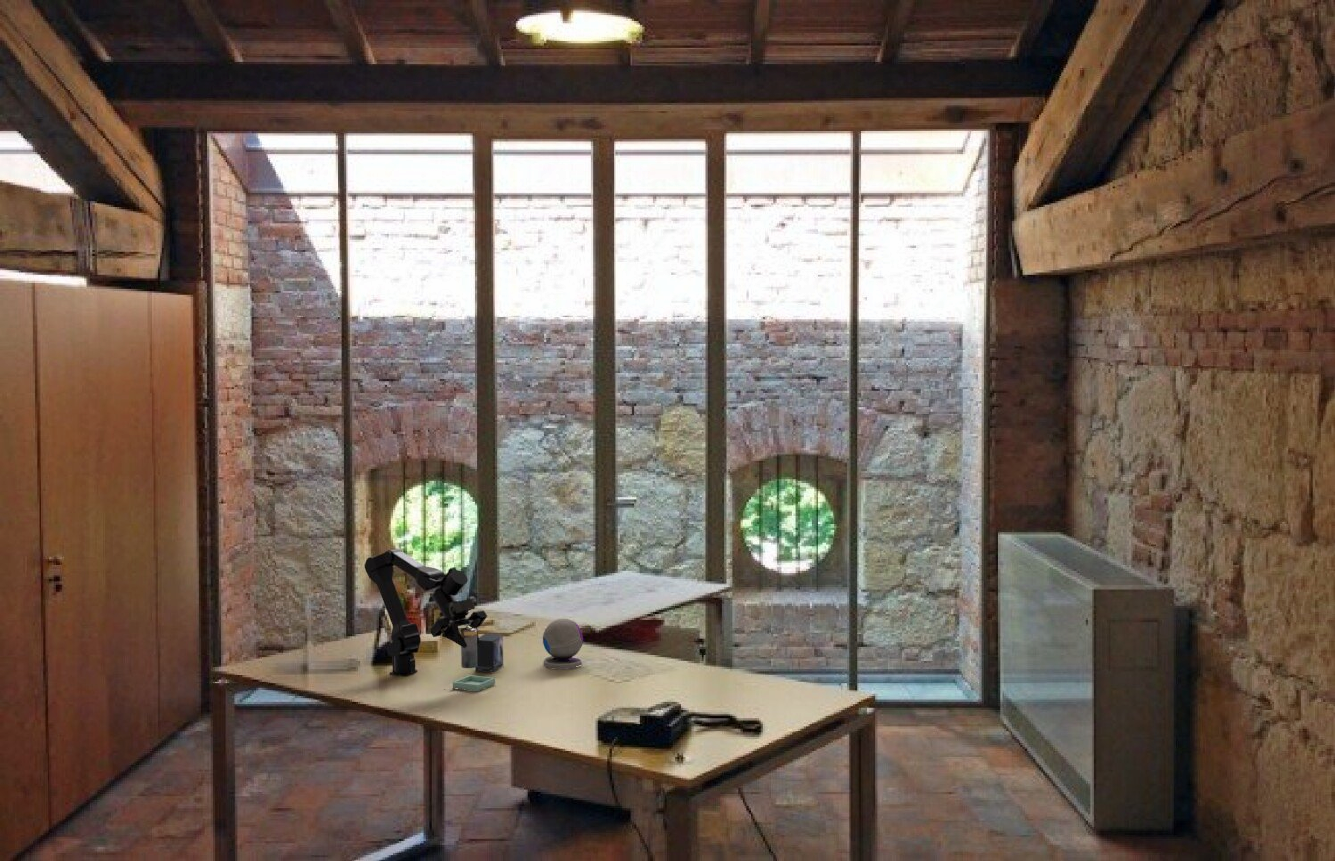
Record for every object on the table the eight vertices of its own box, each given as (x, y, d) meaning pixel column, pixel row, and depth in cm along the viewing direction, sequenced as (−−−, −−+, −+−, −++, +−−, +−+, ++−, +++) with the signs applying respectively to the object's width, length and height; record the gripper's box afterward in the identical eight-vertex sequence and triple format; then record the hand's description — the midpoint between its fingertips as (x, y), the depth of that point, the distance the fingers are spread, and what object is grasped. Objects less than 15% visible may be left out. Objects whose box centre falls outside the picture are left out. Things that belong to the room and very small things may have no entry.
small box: (494, 673, 458) (493, 640, 457) (474, 672, 459) (473, 640, 458) (504, 665, 468) (503, 633, 467) (485, 664, 469) (484, 632, 469)
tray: (452, 688, 439) (452, 682, 439) (469, 681, 447) (469, 675, 447) (478, 691, 435) (478, 685, 435) (495, 684, 443) (494, 678, 443)
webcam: (588, 667, 464) (587, 621, 463) (550, 671, 459) (549, 624, 458) (575, 658, 476) (574, 613, 475) (538, 662, 471) (537, 617, 470)
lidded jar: (459, 668, 437) (458, 628, 436) (463, 664, 442) (462, 625, 441) (475, 668, 436) (474, 629, 435) (479, 664, 441) (478, 625, 440)
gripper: (435, 593, 433) (460, 635, 426) (482, 584, 447) (507, 624, 440) (419, 615, 439) (443, 657, 432) (466, 606, 452) (490, 646, 446)
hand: (472, 645), depth 438 cm, fingers closed on lidded jar, 5 cm apart
